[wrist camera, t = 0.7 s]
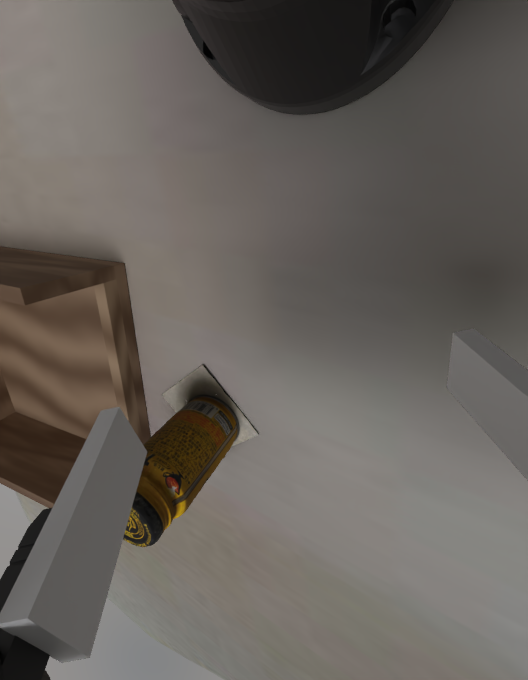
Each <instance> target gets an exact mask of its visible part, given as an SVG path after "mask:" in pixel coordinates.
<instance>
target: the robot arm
mask: <svg viewBox="0 0 528 680" xmlns="http://www.w3.org/2000/svg"><path fill="white" fill-rule="evenodd" d="M172 1H173V3H174V4H175V6H176V8H177V10H178V11H179V13H180V14H181V15H182V18H183V20H184V23H185V25H186V27H187V29H188V31H189V33H190V35H191V37H192V39H193V40H194V42H195V44H196V46H197V47H198V49H199V51H200V52H201V54H202V55H203V57H204V58H205V59H206V61H207V62H208V63H209V65H210V66H211V67H212V68H213V69H214V70H215V71H216V73H217V74H218V75H219V76H220V77H221V78H222V79H223V80H224V81H225V82H227V83H228V84H229V85H230V86H231V87H233V88H234V89H235V90H237V91H238V92H240V93H242V94H243V95H245V96H246V97H248V98H250V99H251V100H253V101H254V102H256V103H258V104H260V105H262V106H264V107H267V108H269V109H272V110H275V111H278V112H283V113H288V114H314V113H320V112H325V111H329V110H332V109H336V108H339V107H341V106H344V105H346V104H349V103H351V102H353V101H355V100H357V99H359V98H361V97H362V96H364V95H366V94H367V93H369V92H371V91H372V90H374V89H375V88H377V87H378V86H379V85H381V84H382V83H383V82H385V81H386V80H387V79H388V78H390V77H391V76H392V75H393V74H394V73H396V72H397V71H398V70H399V69H400V68H401V67H402V66H403V65H404V64H405V63H406V62H407V61H408V60H409V59H410V58H411V57H412V56H413V55H414V54H415V53H416V52H417V50H418V49H419V48H420V47H421V46H422V44H423V43H424V42H425V41H426V40H427V38H428V37H429V36H430V34H431V33H432V32H433V30H434V29H435V28H436V26H437V25H438V24H439V22H440V21H441V19H442V18H443V16H444V15H445V13H446V12H447V10H448V8H449V7H450V5H451V3H452V2H453V0H172ZM447 389H448V390H449V391H450V392H451V393H452V395H453V396H454V397H455V398H456V399H457V400H458V401H459V403H460V404H461V405H462V406H463V407H464V408H465V409H466V411H467V412H468V413H469V414H470V415H471V416H472V417H473V419H474V420H475V421H476V422H477V423H478V424H479V425H480V427H481V428H482V429H483V430H484V431H485V432H486V433H487V435H488V436H489V437H490V438H491V439H492V440H493V441H494V443H495V444H496V445H497V446H498V447H499V448H500V449H501V451H502V452H503V453H504V454H505V455H506V456H507V457H508V459H509V460H510V461H511V462H512V463H513V464H514V466H515V467H516V468H517V469H518V470H519V471H520V472H521V474H522V475H523V476H524V477H525V478H526V479H527V480H528V370H527V369H526V368H524V367H523V366H522V365H520V364H519V363H518V362H517V361H515V360H514V359H513V358H511V357H510V356H509V355H507V354H506V353H505V352H504V351H502V350H501V349H500V348H498V347H497V346H496V345H494V344H493V343H492V342H490V341H489V340H488V339H487V338H485V337H484V336H483V335H481V334H480V333H479V332H477V331H476V330H475V329H474V328H472V329H468V330H463V331H459V332H454V333H453V337H452V345H451V354H450V362H449V371H448V379H447ZM146 455H147V451H146V449H145V447H144V446H143V444H142V442H141V441H140V439H139V438H138V436H137V434H136V433H135V431H134V429H133V428H132V426H131V425H130V423H129V421H128V420H127V418H126V417H125V415H124V413H123V412H122V410H121V408H120V407H115V408H111V409H106V410H102V411H100V413H99V415H98V417H97V419H96V421H95V423H94V425H93V427H92V429H91V431H90V433H89V435H88V437H87V439H86V441H85V443H84V446H83V448H82V450H81V452H80V454H79V456H78V458H77V460H76V462H75V464H74V466H73V468H72V470H71V472H70V474H69V476H68V478H67V480H66V482H65V484H64V486H63V488H62V490H61V492H60V494H59V496H58V498H57V500H56V502H55V504H54V506H53V508H49V509H44V510H43V511H42V512H41V513H40V514H39V515H38V517H37V518H36V519H35V520H34V521H33V522H32V524H31V525H30V526H29V527H28V529H27V531H26V533H25V535H24V536H23V539H22V540H21V542H20V544H19V546H18V547H19V548H18V550H16V552H15V553H14V555H13V557H12V559H11V561H10V566H8V567H7V568H6V570H5V572H4V574H3V576H2V578H1V579H0V680H50V677H49V675H48V674H47V672H46V671H45V668H46V665H47V662H48V659H49V656H51V657H52V658H54V659H56V660H58V661H60V662H61V663H64V662H70V661H74V660H80V659H86V658H90V655H91V651H92V648H93V644H94V641H95V637H96V633H97V630H98V626H99V622H100V619H101V616H102V612H103V608H104V605H105V601H106V598H107V594H108V591H109V587H110V583H111V580H112V576H113V573H114V569H115V566H116V562H117V558H118V555H119V551H120V548H121V544H122V541H123V537H124V533H125V530H126V526H127V523H128V519H129V516H130V512H131V508H132V505H133V501H134V498H135V494H136V491H137V487H138V483H139V480H140V476H141V473H142V469H143V465H144V462H145V458H146Z"/></svg>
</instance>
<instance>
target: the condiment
mask: <svg viewBox="0 0 528 680" xmlns="http://www.w3.org/2000/svg"><path fill="white" fill-rule="evenodd" d="M216 394H217V395H216ZM162 396H163V397H164V398H165V400H166V401H167V402H168V403H169V404H170V406H171V407H172V409H173V410H174V411H175V412H176V414H175V415H174V416H173V417H172V418H171V419H170V420H168V421H167V422H166V424H165V425H164V426H162V427H161V429H159V430H158V431H157V432H156V433H155V434H154V435H153V436H152V437H151V438H150V439H149V440H148V441H147V442H145V443H144V444H143V446H144V447H145V449H146V451H147V455H146V458H145V462H144V465H143V469H142V473H141V476H140V480H139V483H138V487H137V491H136V494H135V498H134V501H133V505H132V508H131V512H130V516H129V519H128V523H127V526H126V530H125V533H124V537H123V539H124V540H125V541H127V542H129V543H131V544H133V545H136V546H140V547H146V546H151V545H153V544H155V543H156V542H157V541H158V539H159V538H160V536H161V535H162V533H163V532H164V530H165V529H166V528H167V527H169V525H170V524H171V523H172V520H173V519H174V518H177V517H180V516H181V515H182V514H183V513H184V512H185V511H186V510H187V509H188V507H189V506H190V504H191V503H192V501H193V500H194V498H195V497H196V495H197V494H198V493H199V491H200V490H201V488H202V487H203V485H204V484H205V483H206V481H207V480H208V478H209V477H210V476H211V474H212V473H213V472H214V470H215V469H216V467H217V466H218V465H219V463H220V461H221V460H222V459H223V458H224V457H225V455H226V453H227V452H228V451H229V450H230V448H231V447H232V446H235V445H237V444H239V443H241V442H243V441H246V440H249V439H251V438H253V437H255V436H257V435H258V433H257V432H256V431H255V429H254V428H253V427H252V425H251V424H250V423H249V421H248V420H247V419H246V418H245V417H244V415H243V414H242V412H241V411H240V410H239V408H237V407H236V405H235V404H234V403H233V401H232V400H231V399H230V398H229V397H228V396H227V395H226V394H225V393H224V391H223V389H222V388H221V387H220V386H219V384H218V383H217V382H216V380H215V379H214V378H213V377H212V376H211V375H210V374H209V373H208V371H207V370H206V369H205V368H204V366H203V365H202V366H200V367H199V368H198V369H196V370H195V371H193V372H192V373H191V374H189V375H188V376H186V377H185V378H184V379H182V380H181V381H180V382H178V383H177V384H176V385H174V386H173V387H171V388H170V389H169V390H167V391H166V392H165V393H163V394H162ZM185 400H187V404H186V401H185Z"/></svg>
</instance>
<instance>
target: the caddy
mask: <svg viewBox="0 0 528 680" xmlns="http://www.w3.org/2000/svg"><path fill="white" fill-rule="evenodd" d="M115 407H120V408H121V410H122V412H123V413H124V415H125V417H126V418H127V420H128V421H129V423H130V425H131V426H132V428H133V429H134V431H135V433H136V434H137V436H138V438H139V439H140V441H141V442H142V444H144V443H145V442H147V441H148V440H149V439H150V438H151V436H150V430H149V423H148V416H147V410H146V403H145V397H144V390H143V383H142V377H141V370H140V363H139V357H138V350H137V344H136V337H135V330H134V324H133V317H132V311H131V304H130V297H129V291H128V284H127V277H126V271H125V264H124V263H118V262H111V261H103V260H96V259H89V258H81V257H74V256H66V255H59V254H51V253H44V252H37V251H29V250H22V249H14V248H7V247H0V483H1V484H3V485H5V486H7V487H9V488H11V489H13V490H15V491H17V492H19V493H21V494H23V495H24V496H26V497H28V498H30V499H32V500H34V501H36V502H38V503H40V504H42V505H44V506H46V507H48V508H53V506H54V504H55V502H56V500H57V498H58V496H59V494H60V492H61V490H62V488H63V486H64V484H65V482H66V480H67V478H68V476H69V474H70V472H71V470H72V468H73V466H74V464H75V462H76V460H77V458H78V456H79V454H80V452H81V450H82V448H83V446H84V443H85V441H86V439H87V437H88V435H89V433H90V431H91V429H92V427H93V425H94V423H95V421H96V419H97V417H98V415H99V413H100V411H102V410H106V409H111V408H115Z"/></svg>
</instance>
